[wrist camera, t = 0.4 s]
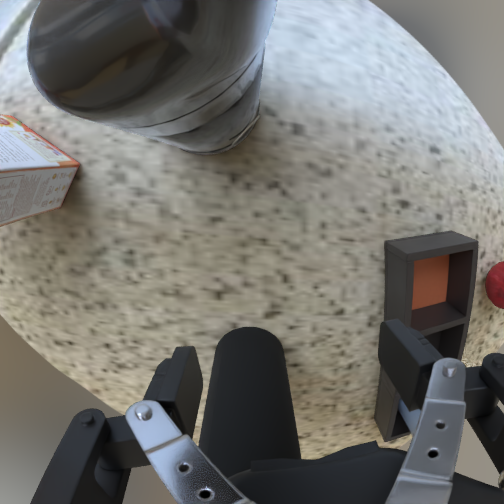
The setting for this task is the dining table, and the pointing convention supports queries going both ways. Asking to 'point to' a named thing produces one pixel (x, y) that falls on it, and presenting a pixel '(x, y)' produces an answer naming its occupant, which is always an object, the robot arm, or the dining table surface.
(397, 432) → the holder
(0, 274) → the dining table surface
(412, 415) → the light blue cylinder
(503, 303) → the onion
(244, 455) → the wine bottle
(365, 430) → the dining table surface
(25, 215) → the cracker box
